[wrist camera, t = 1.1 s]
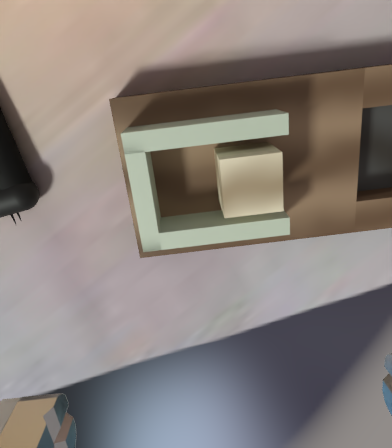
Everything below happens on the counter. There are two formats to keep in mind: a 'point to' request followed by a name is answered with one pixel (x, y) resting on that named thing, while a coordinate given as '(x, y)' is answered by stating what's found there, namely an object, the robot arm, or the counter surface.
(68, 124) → the counter surface
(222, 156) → the cube
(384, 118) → the board
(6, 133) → the door handle
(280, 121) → the cubby
